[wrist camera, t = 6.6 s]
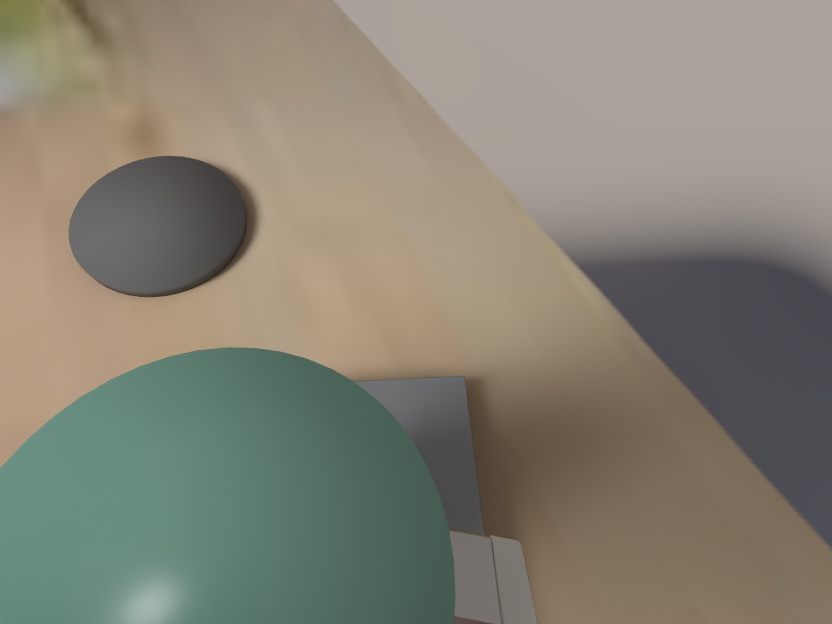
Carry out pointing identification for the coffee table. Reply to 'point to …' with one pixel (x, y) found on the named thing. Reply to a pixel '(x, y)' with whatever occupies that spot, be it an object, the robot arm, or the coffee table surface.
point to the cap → (223, 503)
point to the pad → (158, 226)
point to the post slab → (438, 439)
